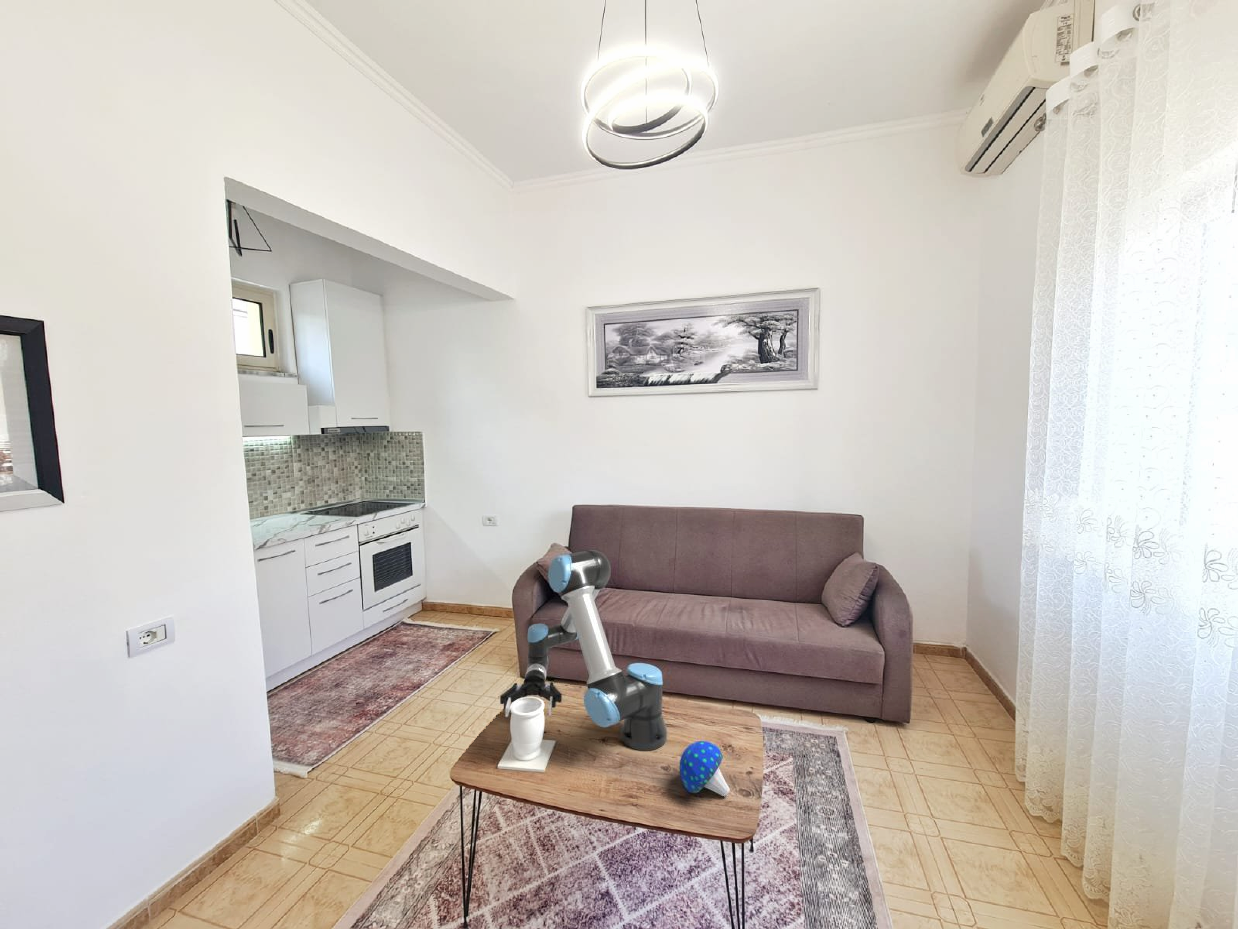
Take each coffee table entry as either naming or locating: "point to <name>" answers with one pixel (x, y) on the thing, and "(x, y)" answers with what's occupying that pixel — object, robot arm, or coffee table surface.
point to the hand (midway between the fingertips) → (528, 712)
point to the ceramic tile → (529, 765)
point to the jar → (527, 727)
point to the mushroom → (702, 768)
